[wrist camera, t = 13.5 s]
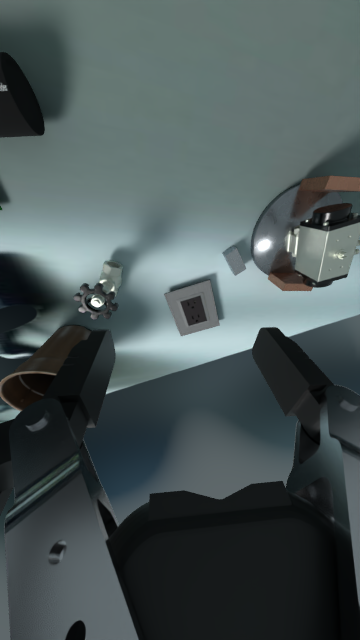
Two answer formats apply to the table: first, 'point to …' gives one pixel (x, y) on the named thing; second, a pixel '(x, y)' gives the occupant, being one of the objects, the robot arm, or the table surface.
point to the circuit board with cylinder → (17, 102)
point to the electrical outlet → (193, 308)
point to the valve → (102, 291)
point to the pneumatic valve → (325, 244)
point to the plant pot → (40, 368)
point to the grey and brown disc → (292, 225)
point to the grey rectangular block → (234, 260)
